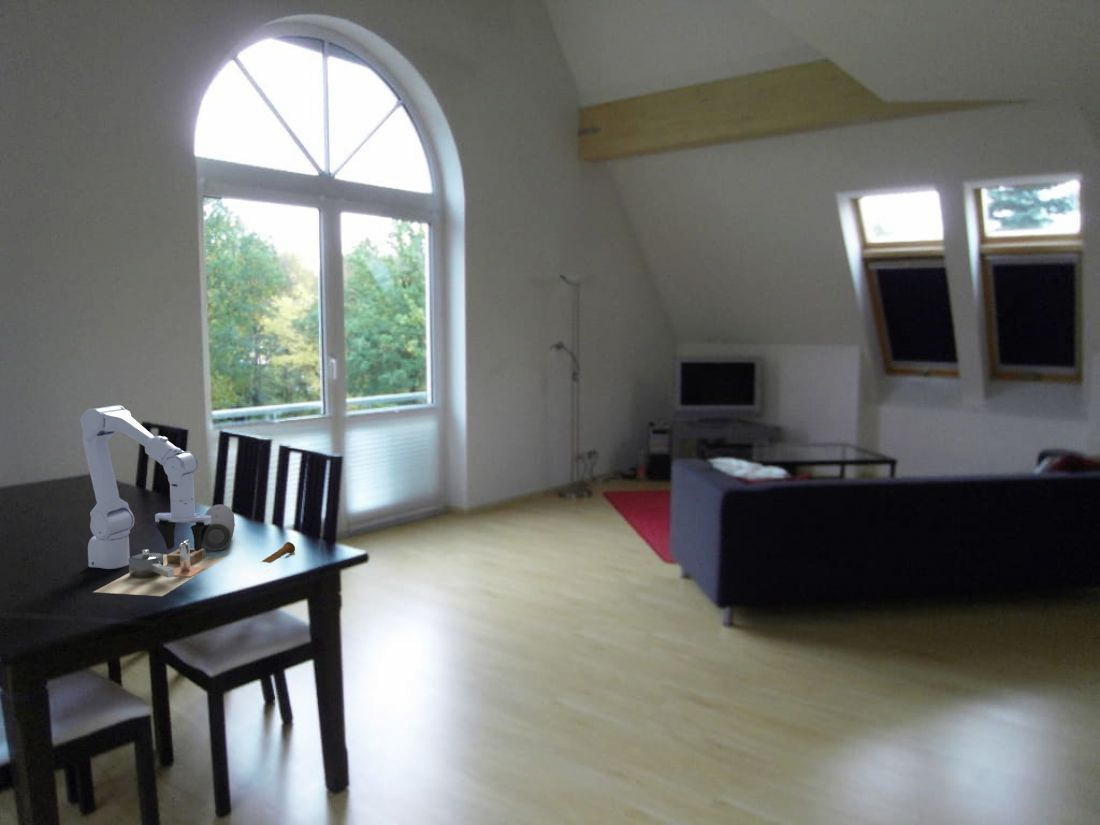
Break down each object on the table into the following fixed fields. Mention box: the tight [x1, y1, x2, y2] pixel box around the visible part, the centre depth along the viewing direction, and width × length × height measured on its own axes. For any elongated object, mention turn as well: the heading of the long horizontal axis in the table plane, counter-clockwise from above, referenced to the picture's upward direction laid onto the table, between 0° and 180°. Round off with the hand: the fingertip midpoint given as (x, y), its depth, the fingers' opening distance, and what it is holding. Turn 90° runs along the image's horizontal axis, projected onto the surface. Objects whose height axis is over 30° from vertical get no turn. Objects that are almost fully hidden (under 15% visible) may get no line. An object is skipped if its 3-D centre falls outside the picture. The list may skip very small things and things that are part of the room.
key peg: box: [178, 539, 191, 573], centre depth 209 cm, size 2×4×8 cm, turn 178°
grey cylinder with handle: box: [128, 548, 174, 578], centre depth 204 cm, size 17×8×6 cm, turn 52°
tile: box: [174, 566, 205, 577], centre depth 209 cm, size 7×7×1 cm
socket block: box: [166, 547, 206, 565], centre depth 219 cm, size 7×7×2 cm
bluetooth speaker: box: [202, 503, 236, 552], centre depth 237 cm, size 23×9×10 cm, turn 20°
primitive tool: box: [261, 541, 296, 564], centre depth 223 cm, size 19×6×4 cm, turn 171°
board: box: [93, 553, 225, 597], centre depth 208 cm, size 18×30×1 cm, turn 174°
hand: (184, 549), depth 209 cm, fingers open, 7 cm apart
